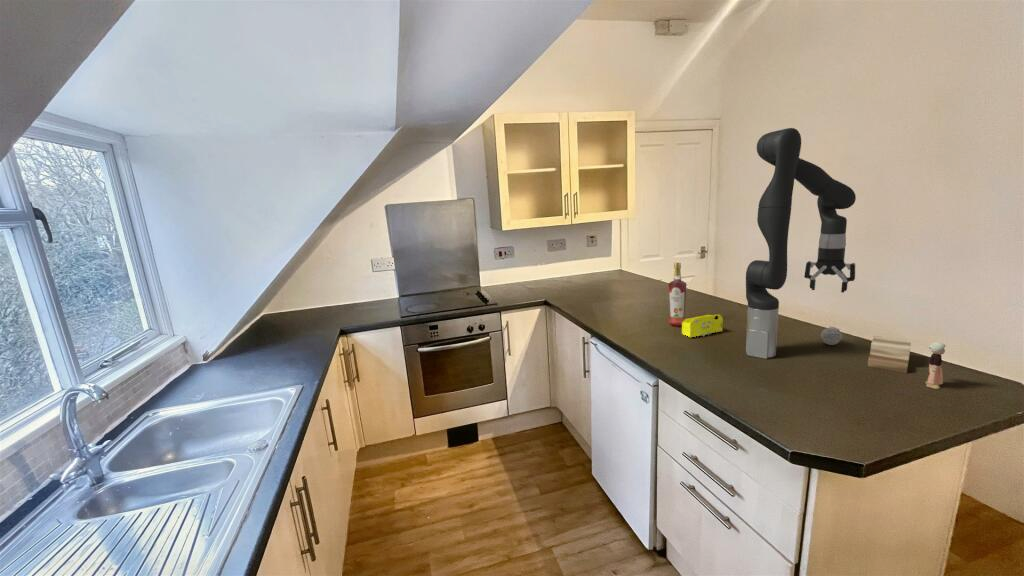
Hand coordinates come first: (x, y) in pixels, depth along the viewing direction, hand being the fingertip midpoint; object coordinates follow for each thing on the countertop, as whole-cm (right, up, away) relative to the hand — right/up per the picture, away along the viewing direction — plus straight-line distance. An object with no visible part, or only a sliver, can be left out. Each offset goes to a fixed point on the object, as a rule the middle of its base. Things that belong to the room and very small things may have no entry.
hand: (827, 290), depth 148 cm
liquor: (-40, -16, +35) cm, 56 cm away
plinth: (+7, -23, -17) cm, 29 cm away
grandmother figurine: (+5, -26, -32) cm, 42 cm away
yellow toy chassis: (-35, -18, +22) cm, 45 cm away
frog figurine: (+1, -20, 0) cm, 20 cm away
